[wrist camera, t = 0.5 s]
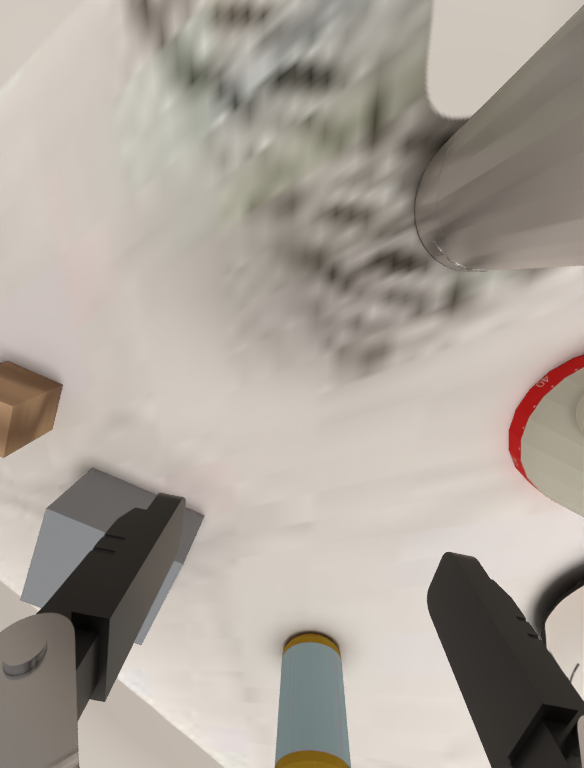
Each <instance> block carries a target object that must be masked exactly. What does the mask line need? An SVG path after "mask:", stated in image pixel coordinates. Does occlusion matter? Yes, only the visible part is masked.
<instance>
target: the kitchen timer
mask: <svg viewBox="0 0 584 768" xmlns="http://www.w3.org/2000/svg"><path fill="white" fill-rule="evenodd" d="M509 452H510V454H511V457H512V460H513V462H514V465H515V467H516V468H517V469H518V471H519V472H520V473H521V474H522V475H523V476H524V477H525V478H526V479H527V481H529V482H530V483H531V484H532V485H533V486H534V487H535V488H536V489H537V490H539V491H540V492H541V493H542V494H544V495H545V496H546V497H548V498H550V499H551V500H553V501H554V502H556V503H558V504H560V505H562V506H564V507H565V508H567V509H569V510H571V511H573V512H575V513H577V514H578V515H580V516H582V517H584V355H582V356H579V357H576V358H573V359H571V360H569V361H568V362H566V363H564V364H562V365H561V366H559V367H557V368H555V369H554V370H552V371H550V372H549V373H548V374H546V375H545V376H544V377H543V378H542V379H541V380H540V381H539V382H538V383H537V384H535V385H534V386H533V387H532V388H531V389H530V390H529V391H528V393H527V394H526V396H525V397H524V399H523V400H522V402H521V403H520V405H519V406H518V408H517V409H516V411H515V414H514V417H513V420H512V423H511V426H510V429H509Z"/></svg>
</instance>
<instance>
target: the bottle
mask: <svg viewBox="0 0 584 768" xmlns="http://www.w3.org/2000/svg"><path fill="white" fill-rule="evenodd" d="M275 768H351V763H350V752H349V741H348V729H347V718H346V707H345V696H344V685H343V673H342V663H341V655H340V651H339V650H338V648H337V647H336V646H335V644H334V643H333V642H332V641H331V640H329V639H328V638H327V637H325V636H322V635H319V634H313V633H309V634H302V635H298V636H296V637H295V638H293V639H292V640H291V641H290V642H289V643H288V644H287V645H286V647H285V648H284V650H283V657H282V668H281V683H280V698H279V713H278V728H277V743H276V757H275Z"/></svg>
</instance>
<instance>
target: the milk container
mask: <svg viewBox="0 0 584 768" xmlns="http://www.w3.org/2000/svg"><path fill="white" fill-rule="evenodd" d="M541 637H542V642H543V644H544V645H545V646H546V648H547V649H548V651H549V652H550V654H551V655H552V656H553V658H554V659H555V661H556V662H557V664H558V665H559V666H560V668H561V669H562V671H563V672H564V674H565V675H566V676H567V678H568V679H569V681H570V682H571V684H572V685H573V686H574V688H575V689H576V691H577V692H578V694H579V695H580V696H581V698H582V699H583V701H584V581H581V582H580V583H578V584H577V585H576V586H574V587H573V588H572V589H570V590H569V591H567V592H565V593H564V594H563V595H561V596H560V597H559V599H558V600H557V601H556V603H555V604H554V606H553V607H552V608H551V609H550V610H549V611H548V613H547V615H546V617H545V620H544V623H543V628H542V634H541Z"/></svg>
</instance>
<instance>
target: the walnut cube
mask: <svg viewBox="0 0 584 768" xmlns="http://www.w3.org/2000/svg"><path fill="white" fill-rule="evenodd" d="M62 386H63V385H61V384H59V383H57V382H55V381H52V380H50V379H48V378H45V377H43V376H41V375H38V374H36V373H34V372H32V371H29V370H27V369H25V368H22V367H20V366H18V365H16V364H13V363H11V362H9V361H7V362H3V363H0V457H3V458H4V457H6V456H8V455H9V454H11V453H13V452H15V451H16V450H18V449H20V448H21V447H23V446H25V445H27V444H28V443H30V442H32V441H33V440H35V439H37V438H39V437H40V436H42V435H44V434H45V433H47V432H49V431H51V430H52V429H53V424H54V420H55V416H56V412H57V407H58V403H59V399H60V395H61V391H62Z"/></svg>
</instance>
